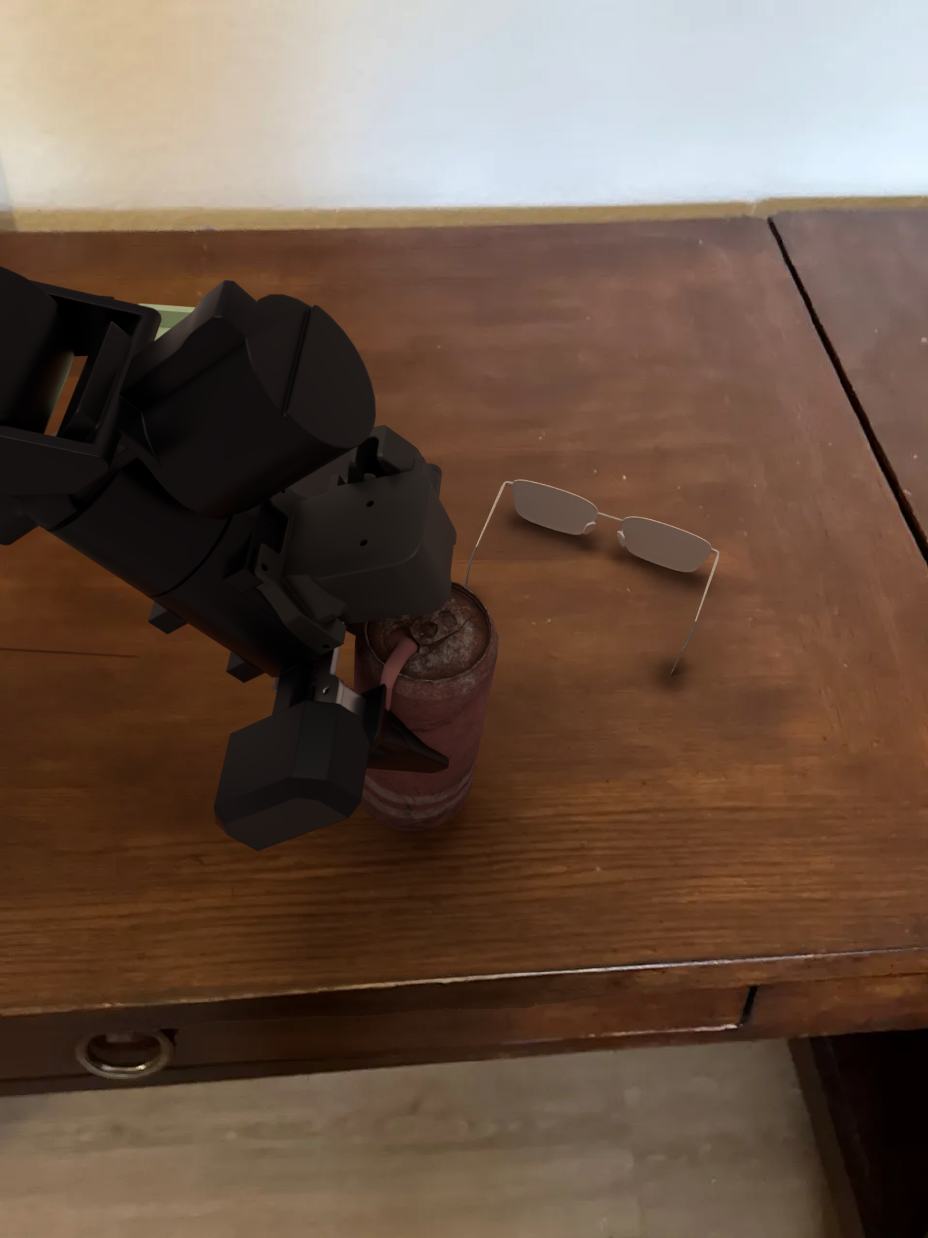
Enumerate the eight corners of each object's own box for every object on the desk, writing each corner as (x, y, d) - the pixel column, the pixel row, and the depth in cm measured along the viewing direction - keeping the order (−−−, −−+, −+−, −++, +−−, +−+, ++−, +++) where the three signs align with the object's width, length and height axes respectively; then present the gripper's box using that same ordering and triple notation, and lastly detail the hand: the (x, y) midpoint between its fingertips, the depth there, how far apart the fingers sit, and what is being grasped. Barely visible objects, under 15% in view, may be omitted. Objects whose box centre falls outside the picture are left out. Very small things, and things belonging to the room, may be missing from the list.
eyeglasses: (710, 580, 76) (724, 541, 72) (675, 683, 71) (689, 647, 68) (500, 510, 78) (505, 469, 74) (455, 606, 74) (457, 568, 70)
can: (328, 811, 61) (327, 657, 49) (382, 713, 64) (393, 548, 53) (439, 859, 60) (464, 713, 48) (487, 757, 63) (522, 598, 52)
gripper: (290, 661, 37) (586, 860, 46) (365, 283, 49) (591, 502, 58) (76, 763, 43) (374, 922, 52) (187, 406, 55) (417, 587, 64)
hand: (446, 718), depth 56 cm, fingers closed on can, 5 cm apart
